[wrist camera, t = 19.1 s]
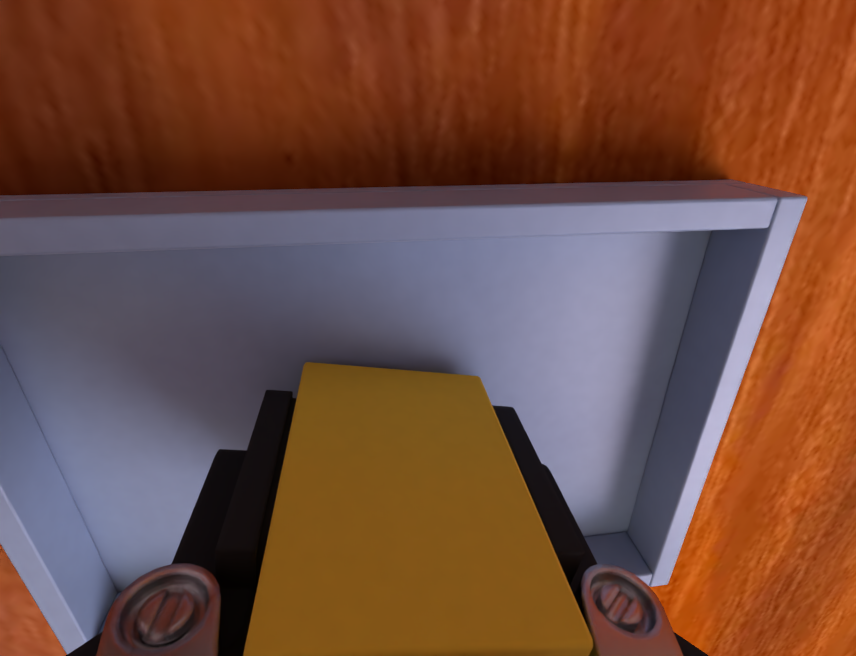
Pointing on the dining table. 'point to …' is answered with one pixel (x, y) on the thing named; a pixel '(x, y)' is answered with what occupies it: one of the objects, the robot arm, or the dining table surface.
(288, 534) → the yellow block
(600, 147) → the dining table surface
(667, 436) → the tray
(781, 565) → the dining table surface
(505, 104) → the dining table surface
